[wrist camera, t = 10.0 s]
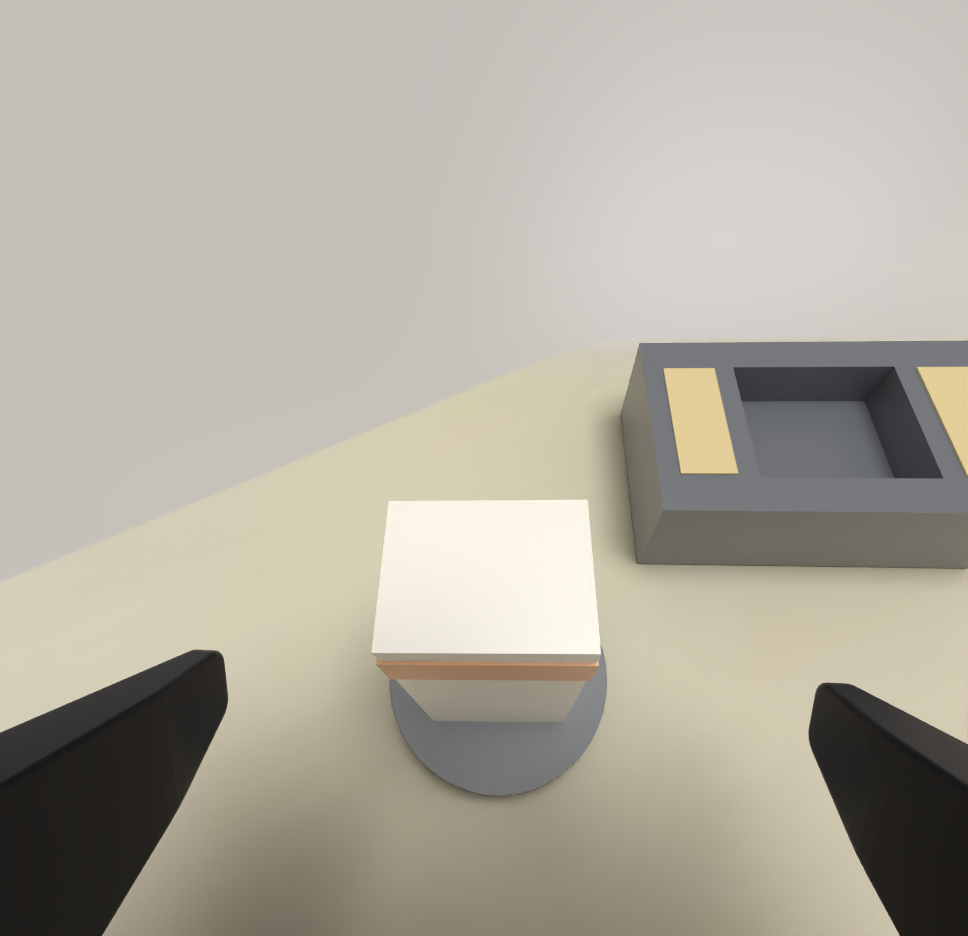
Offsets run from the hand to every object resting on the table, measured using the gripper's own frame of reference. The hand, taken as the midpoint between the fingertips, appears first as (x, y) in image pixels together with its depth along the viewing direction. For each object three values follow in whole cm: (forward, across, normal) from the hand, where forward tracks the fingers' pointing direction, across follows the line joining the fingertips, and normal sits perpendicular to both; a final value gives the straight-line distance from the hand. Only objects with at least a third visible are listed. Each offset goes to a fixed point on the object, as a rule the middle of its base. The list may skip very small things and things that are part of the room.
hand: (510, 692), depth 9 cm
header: (+15, -11, +1) cm, 19 cm away
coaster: (+10, 0, +6) cm, 12 cm away
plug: (+9, 0, +6) cm, 10 cm away
